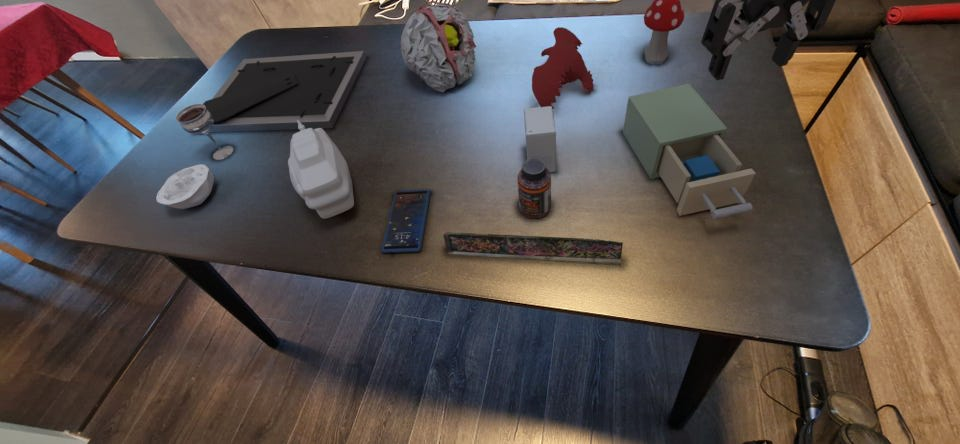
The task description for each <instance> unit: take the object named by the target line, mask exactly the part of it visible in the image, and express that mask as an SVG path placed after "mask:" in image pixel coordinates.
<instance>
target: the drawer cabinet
mask: <svg viewBox="0 0 960 444" xmlns="http://www.w3.org/2000/svg"><path fill="white" fill-rule="evenodd" d="M727 131H728V127H727V126H726V125H725V124H724V123H723V122H722V120H721V119H720V118H719V117H718V116H717V114H716V113H715V112H714V111H713V109H712V108H711V107H709V105H708V104H707V103H706V101H704V99H703V98H702V97H701V96H700V94H699V93H698V92H697V91H696V90H695V89H694V87H693V86H692V85H691V84H690V83H684V84H681V85H676V86H671V87H666V88H663V89H662V88H661V89H657V90H653V91H649V92H644V93H640V94H635V95H630V96H628V99H627V104H626V111H625V115H624V122H623V129H622V134H623V136H624V137H625V139H626V142H628V144H629V145H630V147H631V149H632V151H633V152H634V154H635V155H636V157H637V159H638V161H639V162H640V164H641V166H642V167H643V169H644V171H645V172H646V174H647V176H648V177H649V179H650V180H654V179H658V178H661V176H660V175H659V173H658V172H657V167H658V164H659V160H660V156H661V152H662V149H663V146H664V145H669V144H673V143H678V142H682V141H687V140H691V139H696V138H700V137H705V136H709V135H714V134H718V135H719V137H720V138H721V139H722V140H723V141H724V138H725V136H726V134H727Z"/></svg>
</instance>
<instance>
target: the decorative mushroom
mask: <svg viewBox="0 0 960 444" xmlns="http://www.w3.org/2000/svg"><path fill="white" fill-rule="evenodd" d="M684 20H685V11H684V8H683V7H682V4H681V1H680V0H653V2H652V3H651V5H650V6H648V8H647V9H646V11H645V12H644V15H643V24H644V25H645V26H646V27H647V28H648V29H650V30H652V33H651V37H650V40H649V43H648V45H647V47H646V48H645V50H644V60H645V62H647V64H649V65H653V66H658V65H662V64H663V63H664V62H665V61H666V59H667V57H668V55H669V49H668V42H669V41H668V39H669V33H670V32H671V31H674V30H675V31H676V29H678V28H680V26H682V24H683V22H684Z"/></svg>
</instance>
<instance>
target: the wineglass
mask: <svg viewBox="0 0 960 444" xmlns="http://www.w3.org/2000/svg"><path fill="white" fill-rule="evenodd" d="M175 121H176V122H178V123H179V124H180V126H181V128H182V129H183V131H185V132H187V133H188V134H190V135H197V136H199V135H206V137H208V138H209V140H210V141H211V142H212V143H213V144H214V145H215V146H216V148H217V149H216V150H215V151H214V152H213V155H212V158H213V159H214V160H217V161H221V160H224V159H226V158H228V157H230V155H231V154H232V153H233V152H234V147H233V146H232V145H223V146H221V147H220V144H218V143H217V141H216V140H215V139H214V137H213V136H212V134H211V133H209V132H210V129H211V128H212V127H213V123H214V118H213V116H212V114H211V113H210V112H209V111H208V110H206V107H205V105H203V103H195V104H191V105H188V106H187V107H184V108H182V109H181V110H180V111H179V112H178V113H177V114H176V116H175Z"/></svg>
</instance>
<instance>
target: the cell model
mask: <svg viewBox="0 0 960 444" xmlns="http://www.w3.org/2000/svg"><path fill="white" fill-rule="evenodd" d="M214 182H215V176H214V174H213V173H212V171H211V170H210V168H209V167H208V166H207V165H206V164H203V163H199V164H196V165H191V166H188V167H184V168H182V169H180V170H179V171H176V172H174V173H173V174H172V175H169V177H167V179H166V180H165V182H164V183H163V185H162V187H160V189H159V190H158V192H157V193H156V197H155V198H156V202H157V203H158V204H161V205H164V206H167V207H169V208H173V209H179V210H186V209H189V208H193V207H197V206H199V205H201V204H203V203H204V202H205V201H206V200H207V198H208V197H209V196H210V194H211V193H212V190H213V188H214V187H213V186H214Z"/></svg>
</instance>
